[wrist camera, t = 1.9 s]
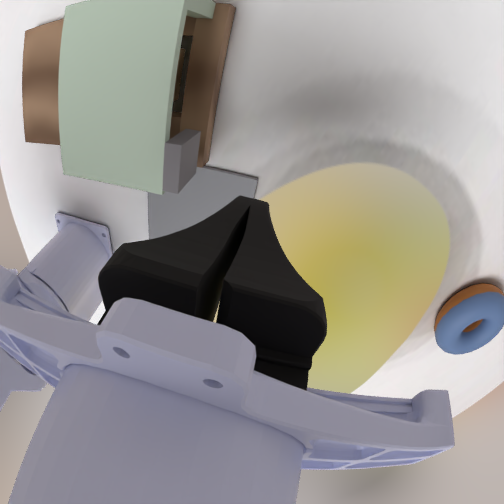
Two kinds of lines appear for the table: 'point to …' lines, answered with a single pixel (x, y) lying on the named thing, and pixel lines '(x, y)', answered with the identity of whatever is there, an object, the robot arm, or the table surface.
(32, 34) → the board
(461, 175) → the table surface
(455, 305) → the doughnut
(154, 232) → the mat
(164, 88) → the cover
